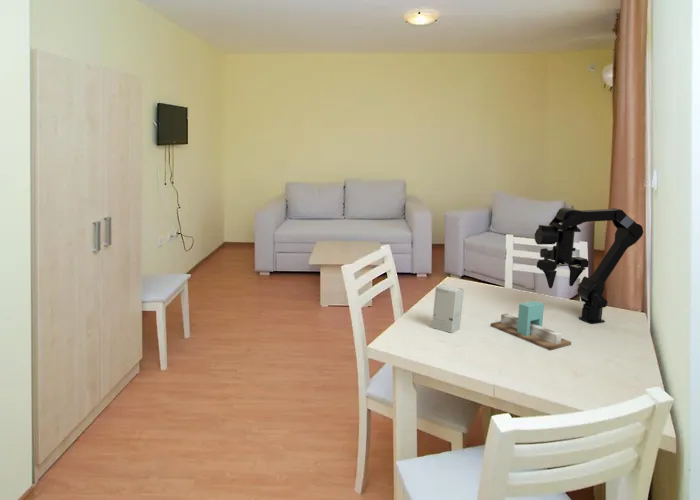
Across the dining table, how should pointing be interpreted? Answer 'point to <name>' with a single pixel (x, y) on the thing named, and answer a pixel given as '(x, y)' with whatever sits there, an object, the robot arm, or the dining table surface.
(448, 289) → the skincare box
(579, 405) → the dining table surface
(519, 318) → the teal rectangular block
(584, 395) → the dining table surface
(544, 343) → the rail board
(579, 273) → the robot arm
